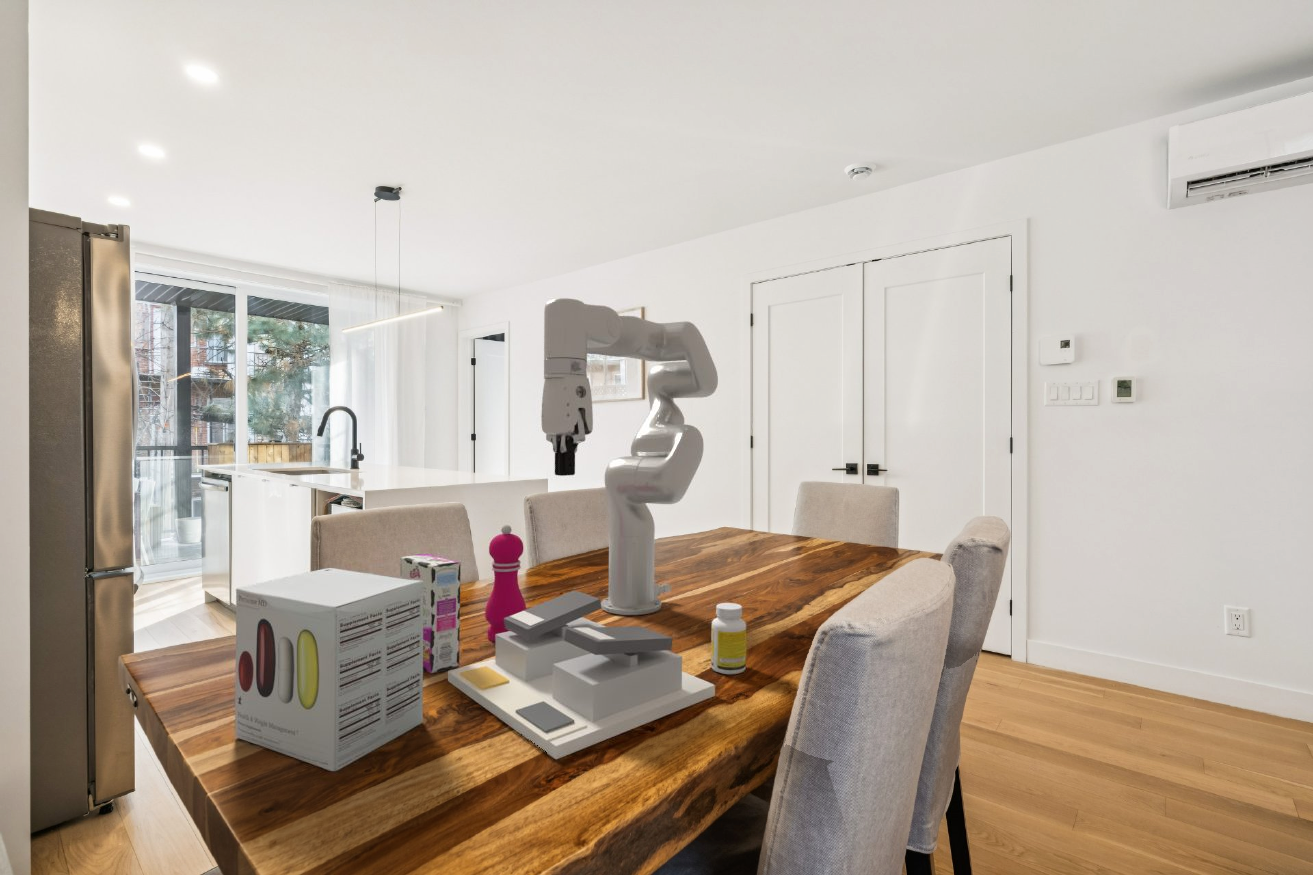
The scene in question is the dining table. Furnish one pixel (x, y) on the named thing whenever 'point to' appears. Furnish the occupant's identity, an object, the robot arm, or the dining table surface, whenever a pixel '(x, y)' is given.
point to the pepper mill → (504, 581)
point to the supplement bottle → (728, 640)
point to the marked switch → (552, 614)
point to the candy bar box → (437, 608)
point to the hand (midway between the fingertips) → (564, 474)
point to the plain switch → (617, 639)
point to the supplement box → (328, 664)
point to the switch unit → (576, 689)
